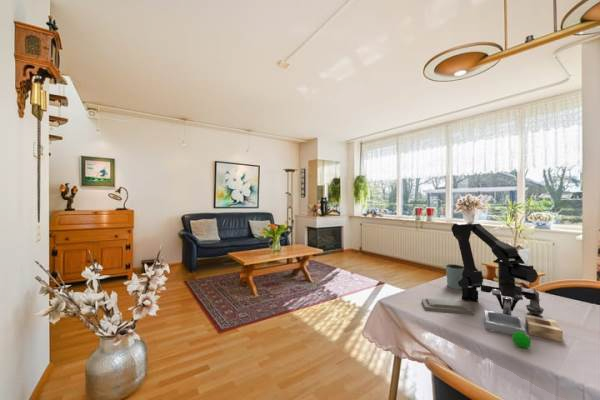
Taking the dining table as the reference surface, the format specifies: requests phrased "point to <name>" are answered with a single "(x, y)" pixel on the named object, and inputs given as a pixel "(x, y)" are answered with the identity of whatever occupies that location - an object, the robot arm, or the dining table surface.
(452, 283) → the grey-blue cylindrical pot
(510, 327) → the tray
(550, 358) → the dining table surface
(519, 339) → the green ball
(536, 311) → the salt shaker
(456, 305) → the grey stepped plate
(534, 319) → the square wooden frame
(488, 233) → the robot arm
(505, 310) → the pin
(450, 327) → the dining table surface
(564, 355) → the dining table surface
